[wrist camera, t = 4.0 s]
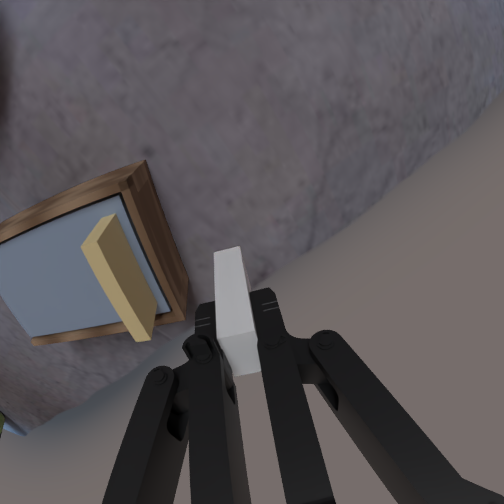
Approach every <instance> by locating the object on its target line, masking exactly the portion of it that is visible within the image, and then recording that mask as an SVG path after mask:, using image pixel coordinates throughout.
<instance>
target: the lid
mask: <svg viewBox="0 0 504 504" xmlns="http://www.w3.org/2000/svg"><path fill="white" fill-rule="evenodd" d="M0 295H1V297H2V298H3V300H4V301H5V303H6V304H7V306H8V307H9V309H10V310H11V312H12V313H13V315H14V316H15V317H16V319H17V320H18V321H19V323H20V324H21V326H22V327H23V328H24V330H25V331H26V332H27V333H28V335H29V336H30V337H36V336H42V335H48V334H54V333H60V332H66V331H72V330H78V329H83V328H89V327H94V326H100V325H105V324H110V323H116V322H121V321H123V323H124V324H125V326H126V328H127V329H128V331H129V332H130V334H131V335H132V337H133V338H134V340H135V341H136V342H141V341H147V340H151V338H152V331H153V326H154V320H155V314H160V313H165V312H169V311H171V305H170V303H169V301H168V299H167V297H166V295H165V293H164V291H163V289H162V287H161V285H160V282H159V280H158V278H157V276H156V274H155V272H154V270H153V267H152V265H151V263H150V261H149V259H148V256H147V254H146V252H145V249H144V247H143V245H142V242H141V240H140V238H139V235H138V233H137V231H136V228H135V226H134V223H133V221H132V218H131V216H130V213H129V211H128V208H127V206H126V203H125V201H124V198H123V195H122V193H121V192H118V193H115V194H112V195H110V196H107V197H104V198H101V199H99V200H96V201H93V202H91V203H88V204H86V205H83V206H81V207H78V208H76V209H73V210H71V211H68V212H66V213H63V214H61V215H59V216H56V217H54V218H52V219H49V220H47V221H45V222H42V223H40V224H38V225H36V226H33V227H31V228H29V229H27V230H25V231H23V232H21V233H18V234H16V235H14V236H12V237H10V238H8V239H6V240H4V241H2V242H0Z"/></svg>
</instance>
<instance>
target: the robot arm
mask: <svg viewBox="0 0 504 504" xmlns="http://www.w3.org/2000/svg"><path fill="white" fill-rule="evenodd" d="M214 276H215V301H212V302H208V303H203V304H200V305H199V307H198V308H197V310H196V312H195V334H193V335H191V336H190V337H188V338H187V339H186V340H185V342H184V343H183V346H182V348H183V350H184V352H185V353H186V355H187V357H188V358H189V361H188V362H186V363H185V364H183V365H182V366H179V367H177V368H175V369H173V370H172V369H171V368H170V367H167V366H158V367H156V368H154V369H153V370H151V371H150V372H149V373H148V375H147V377H146V379H145V382H144V384H143V387H142V389H141V392H140V395H139V397H138V400H137V403H136V405H135V408H134V411H133V413H132V416H131V419H130V421H129V424H128V427H127V430H126V433H125V435H124V438H123V441H122V444H121V447H120V449H119V453H118V455H117V458H116V461H115V464H114V467H113V470H112V473H111V476H110V479H109V483H108V486H107V489H106V492H105V495H104V498H103V502H102V504H173V501H174V497H175V493H176V489H177V485H178V481H179V476H180V472H181V468H182V464H183V459H184V456H185V452H186V448H187V444H188V440H189V463H190V465H189V466H190V488H191V504H251V498H250V492H249V485H248V478H247V471H246V464H245V457H244V449H243V441H242V434H241V426H240V418H239V410H238V401H237V393H236V386H235V384H234V382H233V377H232V373H233V375H234V377H237V376H242V375H246V374H251V373H256V372H260V371H261V372H262V377H263V382H264V388H265V393H266V399H267V404H268V409H269V415H270V420H271V426H272V431H273V436H274V441H275V447H276V452H277V457H278V462H279V468H280V473H281V478H282V483H283V488H284V493H285V498H286V503H287V504H336V502H335V499H334V496H333V492H332V489H331V485H330V481H329V477H328V474H327V470H326V467H325V463H324V459H323V456H322V452H321V448H320V445H319V442H318V438H317V434H316V430H315V427H314V424H313V420H312V416H311V413H310V409H309V406H308V402H307V399H306V395H305V392H304V388H303V385H302V384H314V385H315V386H316V388H317V389H318V391H319V392H320V394H321V395H322V396H323V398H324V400H325V401H326V402H327V404H328V405H329V407H330V408H331V410H332V411H333V413H334V414H335V416H336V417H337V418H338V420H339V421H340V423H341V424H342V425H343V427H344V428H345V430H346V431H347V433H348V434H349V436H350V437H351V438H352V440H353V441H354V443H355V444H356V446H357V447H358V449H359V450H360V451H361V453H362V454H363V456H364V457H365V458H366V460H367V461H368V463H369V464H370V466H371V467H372V468H373V470H374V471H375V472H376V474H377V475H378V477H379V478H380V479H381V481H382V482H383V483H384V485H385V486H386V488H387V489H388V491H389V492H390V493H391V495H392V496H393V497H394V499H395V500H396V501H397V503H398V504H504V497H503V496H502V495H500V494H497V493H495V492H493V491H490V490H488V489H485V488H483V487H481V486H478V485H476V484H474V483H472V482H470V481H467V480H465V479H463V478H462V477H461V476H460V475H459V474H458V473H457V471H456V470H455V469H454V468H453V467H452V465H451V464H450V463H449V462H448V461H447V460H446V458H445V457H444V456H443V455H442V454H441V452H440V451H439V450H438V449H437V447H436V446H435V445H434V444H433V443H432V442H431V440H430V439H429V438H428V437H427V436H426V434H425V433H424V432H423V431H422V430H421V429H420V427H419V426H418V425H417V424H416V423H415V421H414V420H413V419H412V418H411V417H410V415H409V414H408V413H407V412H406V411H405V410H404V409H403V407H402V406H401V405H400V404H399V403H398V401H397V400H396V399H395V398H394V397H393V396H392V394H391V393H390V392H389V391H388V390H387V389H386V387H385V386H384V385H383V384H382V383H381V382H380V380H379V379H378V378H377V377H376V376H375V375H374V374H373V372H371V370H370V369H369V368H368V367H367V365H366V364H365V363H364V362H363V361H362V360H361V359H360V357H359V356H358V355H357V354H356V353H355V352H354V351H353V350H352V348H351V347H350V346H349V345H348V344H347V342H346V341H345V340H344V339H343V338H342V337H341V336H340V335H339V334H338V333H337V332H335V331H332V330H322V331H319V332H317V333H315V334H314V335H313V336H312V337H311V339H301V338H296V337H293V336H291V335H289V333H288V332H287V331H286V329H285V326H284V322H283V319H282V315H281V312H280V309H279V305H278V302H277V299H276V295H275V293H274V292H273V291H272V290H271V289H270V288H264V289H260V290H256V291H252V292H251V287H250V282H249V279H248V275H247V271H246V268H245V264H244V260H243V256H242V253H241V249H240V246H238V247H234V248H230V249H226V250H222V251H218V252H214Z"/></svg>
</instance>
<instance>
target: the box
mask: <svg viewBox="0 0 504 504" xmlns="http://www.w3.org/2000/svg"><path fill="white" fill-rule="evenodd" d="M118 192H121V193H122V195H123V198H124V201H125V203H126V206H127V208H128V211H129V213H130V216H131V218H132V221H133V223H134V226H135V228H136V231H137V233H138V235H139V238H140V240H141V242H142V245H143V247H144V249H145V252H146V254H147V256H148V259H149V261H150V263H151V265H152V267H153V270H154V272H155V274H156V276H157V278H158V280H159V282H160V285H161V287H162V289H163V291H164V293H165V295H166V297H167V299H168V301H169V303H170V305H171V311H169V312H165V313H160V314H155V320H154V326H158V325H163V324H168V323H173V322H178V321H183V320H186V306H187V292H188V279H189V278H188V275H187V273H186V270H185V268H184V265H183V263H182V260H181V258H180V255H179V253H178V250H177V247H176V245H175V242H174V240H173V237H172V234H171V232H170V229H169V226H168V224H167V221H166V218H165V215H164V213H163V210H162V207H161V204H160V201H159V198H158V196H157V193H156V190H155V187H154V184H153V181H152V178H151V175H150V172H149V169H148V166H147V163H146V160H143V161H140V162H137V163H134V164H131V165H128V166H125V167H123V168H120V169H117V170H115V171H112V172H109V173H107V174H104V175H102V176H99V177H97V178H94V179H92V180H89V181H87V182H84V183H82V184H80V185H77V186H75V187H73V188H70V189H68V190H66V191H63V192H61V193H59V194H57V195H55V196H53V197H50V198H48V199H46V200H44V201H42V202H40V203H38V204H36V205H34V206H32V207H30V208H28V209H26V210H24V211H22V212H20V213H18V214H16V215H15V216H13V217H11V218H9V219H7V220H5V221H4V222H2V223H1V224H0V242H2V241H4V240H6V239H8V238H10V237H12V236H14V235H16V234H18V233H21V232H23V231H25V230H27V229H29V228H31V227H33V226H36V225H38V224H40V223H42V222H45V221H47V220H49V219H52V218H54V217H56V216H59V215H61V214H63V213H66V212H68V211H71V210H73V209H76V208H78V207H81V206H83V205H86V204H88V203H91V202H93V201H96V200H99V199H101V198H104V197H107V196H110V195H112V194H115V193H118ZM127 331H128V329H127V328H126V326H125V324H124V323H123V321H121V322H116V323H110V324H105V325H100V326H94V327H89V328H83V329H78V330H72V331H66V332H60V333H54V334H48V335H42V336H36V337H33V338H32V341H31V343H32V344H33V345H34V346H37V345H45V344H52V343H59V342H66V341H73V340H79V339H86V338H92V337H98V336H104V335H110V334H116V333H121V332H127Z"/></svg>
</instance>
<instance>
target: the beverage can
mask: <svg viewBox="0 0 504 504" xmlns="http://www.w3.org/2000/svg"><path fill="white" fill-rule="evenodd" d="M4 422H5V418H4V416H3V414H2V413H1V412H0V437H1V433H2V429H3V425H4Z"/></svg>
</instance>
